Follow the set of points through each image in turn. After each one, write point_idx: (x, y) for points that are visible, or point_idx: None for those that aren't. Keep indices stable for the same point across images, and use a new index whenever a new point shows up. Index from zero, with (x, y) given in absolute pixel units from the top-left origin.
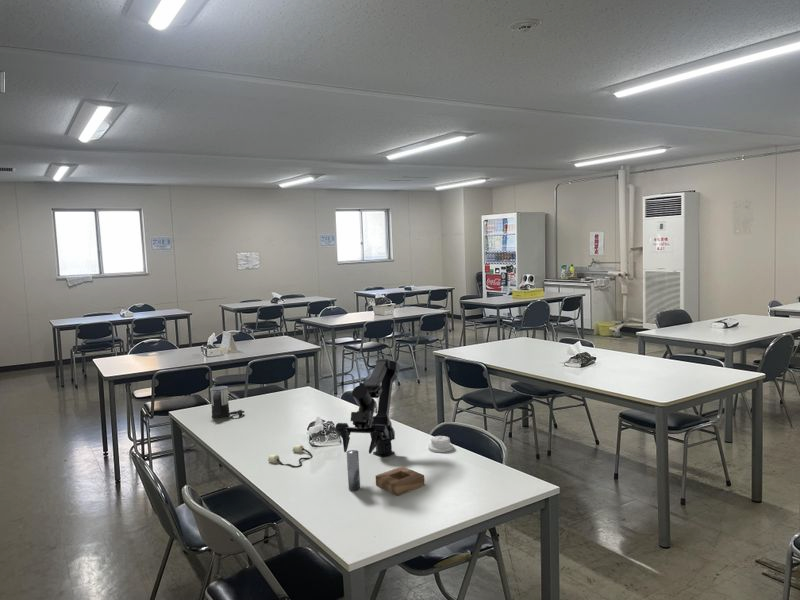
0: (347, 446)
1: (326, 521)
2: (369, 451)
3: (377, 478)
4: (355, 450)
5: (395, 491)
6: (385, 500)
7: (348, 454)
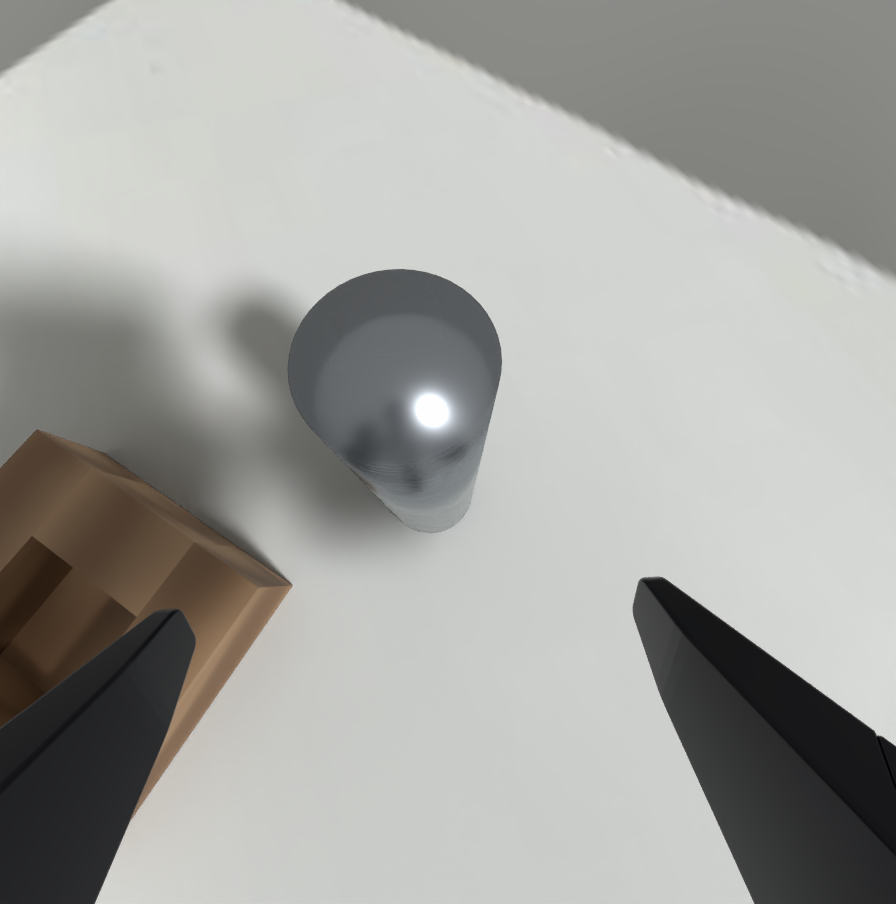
0: (703, 771)
1: (414, 120)
2: (155, 614)
3: (245, 571)
4: (366, 439)
5: (100, 456)
6: (172, 373)
7: (430, 281)
